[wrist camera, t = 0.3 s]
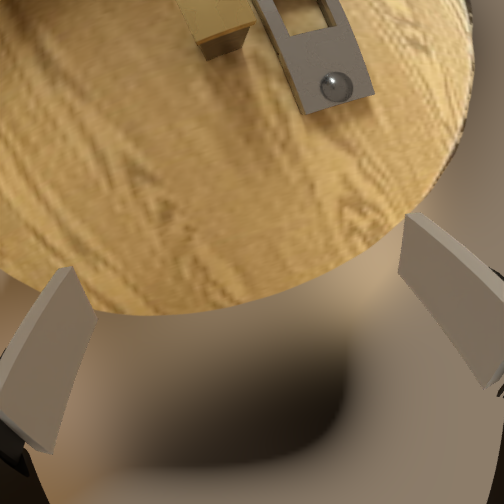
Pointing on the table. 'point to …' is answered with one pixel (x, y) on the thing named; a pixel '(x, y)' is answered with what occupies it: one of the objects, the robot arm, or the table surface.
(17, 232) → the table surface
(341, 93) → the plate
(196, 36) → the link pin
